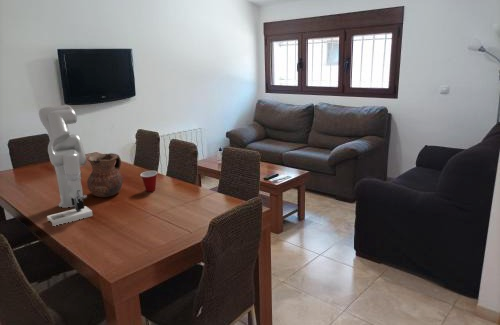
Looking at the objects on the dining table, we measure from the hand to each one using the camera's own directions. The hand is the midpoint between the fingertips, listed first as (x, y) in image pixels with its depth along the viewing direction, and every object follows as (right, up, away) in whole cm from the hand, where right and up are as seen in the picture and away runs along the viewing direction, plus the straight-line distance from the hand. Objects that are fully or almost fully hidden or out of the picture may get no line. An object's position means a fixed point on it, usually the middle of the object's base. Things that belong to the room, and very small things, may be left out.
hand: (78, 206), depth 202 cm
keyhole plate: (-3, -6, -2) cm, 7 cm away
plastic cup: (+29, +6, +41) cm, 50 cm away
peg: (0, -5, +1) cm, 5 cm away
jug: (+1, +4, +37) cm, 37 cm away
